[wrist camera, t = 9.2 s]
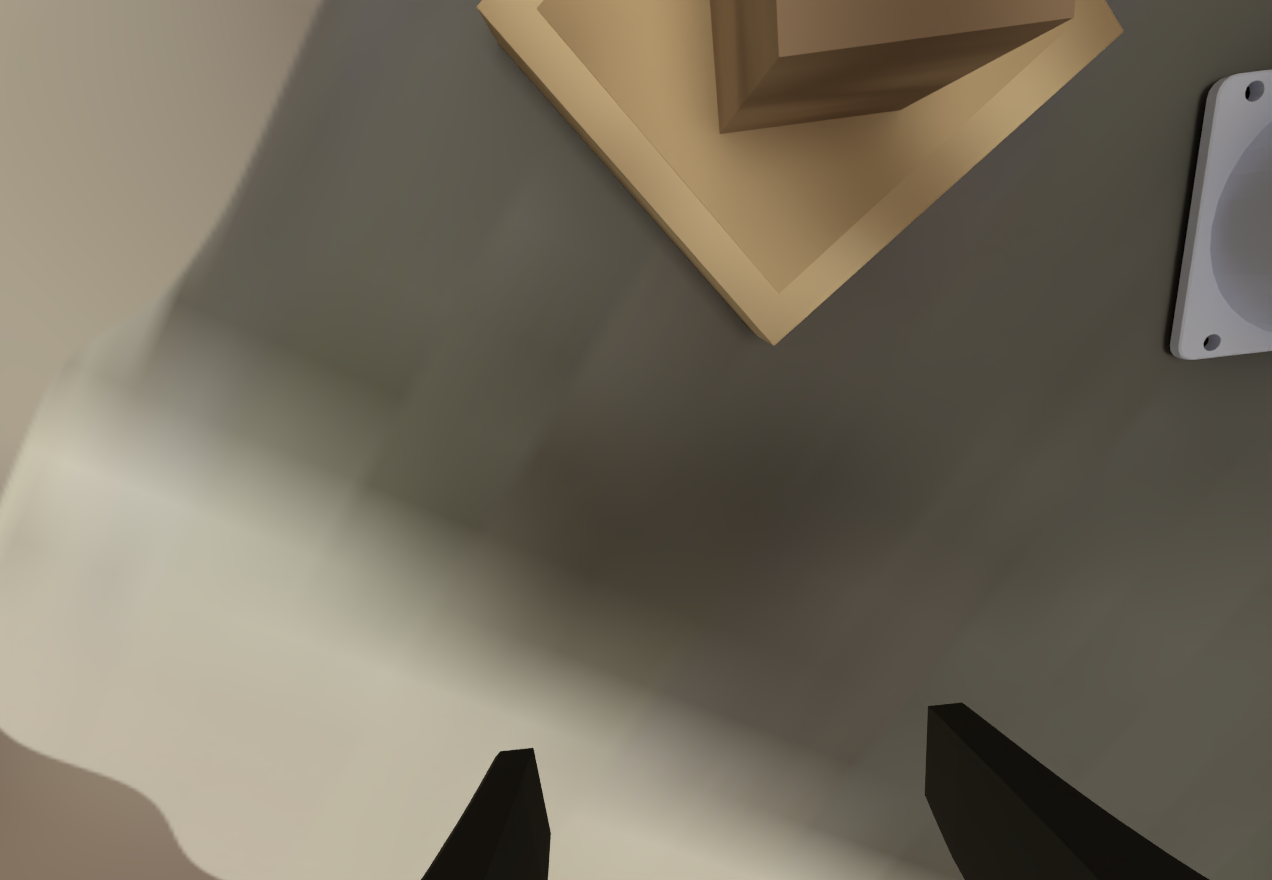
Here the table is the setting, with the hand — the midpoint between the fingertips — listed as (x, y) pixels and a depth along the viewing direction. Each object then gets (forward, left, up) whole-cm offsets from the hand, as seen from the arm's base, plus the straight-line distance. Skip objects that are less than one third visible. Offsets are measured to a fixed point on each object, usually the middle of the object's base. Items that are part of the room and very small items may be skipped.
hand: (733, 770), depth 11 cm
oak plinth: (-4, -14, -10) cm, 18 cm away
